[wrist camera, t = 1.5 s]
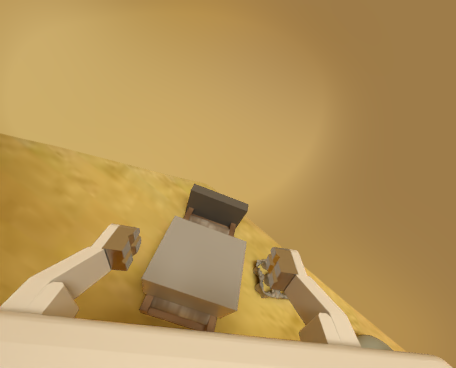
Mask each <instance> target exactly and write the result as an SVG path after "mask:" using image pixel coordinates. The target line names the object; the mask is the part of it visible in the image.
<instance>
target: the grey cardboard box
mask: <svg viewBox="0 0 456 368" xmlns="http://www.w3.org/2000/svg"><path fill="white" fill-rule="evenodd" d="M245 249H246V241H243V240H240V239H237V238H235V237H232V236H229V235H226V234H224V233H221V232H218V231H216V230H213V229H210V228H207V227H205V226H202V225H199V224H196V223H194V222H191V221H188V220H185V219H183V218H180V217H177V216H175V217H174V219H173V221H172V223H171V225H170V226H169V228H168V230H167V232H166V234H165V236H164V238H163V239H162V241H161V243H160V245H159V247H158V249H157V251H156V252H155V254H154V256H153V258H152V260H151V262H150V264H149V265H148V267H147V269H146V271H145V273H144V275H143V277H142V278H141V279H142V286H143V293H145V294H148V295H151V296H154V297H157V298H160V299H163V300H166V301H169V302H172V303H175V304H178V305H181V306H184V307H188V308H191V309H194V310H197V311H200V312H203V313H206V314H209V315H212V316H215V317H218V318H222V317H224V316H226V315H229V314H231V313H233V312H235V311H237V307H238V300H239V293H240V285H241V278H242V271H243V264H244V256H245Z"/></svg>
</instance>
